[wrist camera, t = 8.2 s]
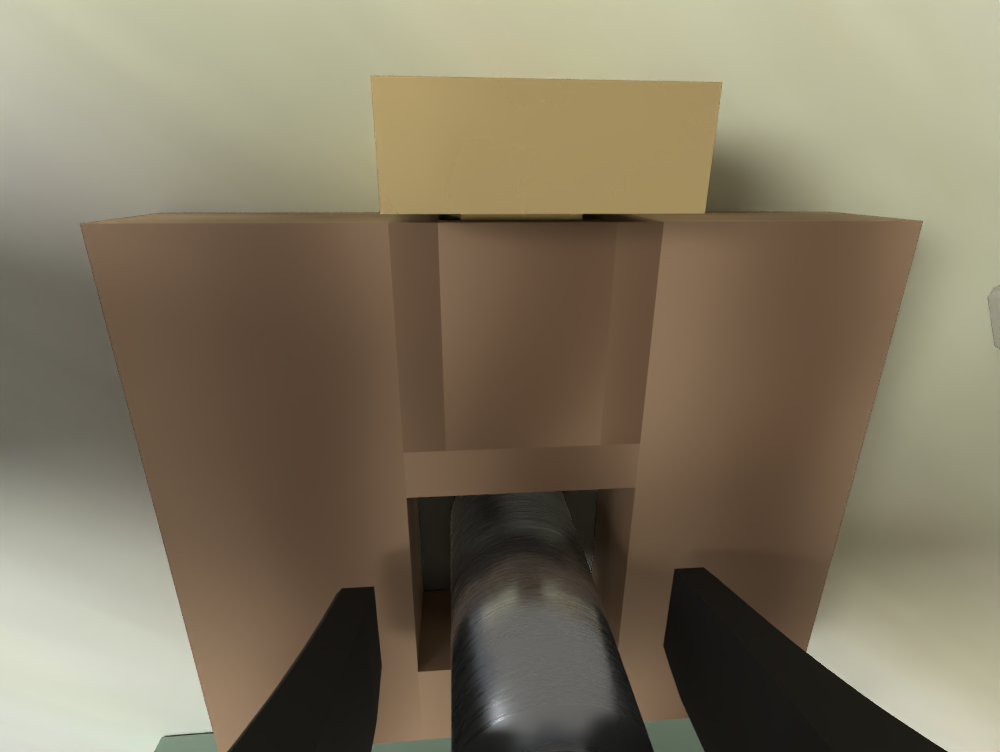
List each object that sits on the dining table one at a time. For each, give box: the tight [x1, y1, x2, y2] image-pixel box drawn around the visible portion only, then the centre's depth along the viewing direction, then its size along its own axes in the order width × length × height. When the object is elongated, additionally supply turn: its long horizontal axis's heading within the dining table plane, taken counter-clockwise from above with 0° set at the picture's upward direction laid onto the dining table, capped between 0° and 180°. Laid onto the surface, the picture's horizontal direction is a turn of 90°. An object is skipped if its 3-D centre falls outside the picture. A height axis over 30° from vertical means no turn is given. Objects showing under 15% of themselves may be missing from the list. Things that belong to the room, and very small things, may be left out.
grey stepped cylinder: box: [451, 491, 654, 752], centre depth 10 cm, size 3×3×9 cm
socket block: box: [80, 212, 923, 752], centre depth 12 cm, size 14×12×2 cm
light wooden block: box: [371, 76, 722, 220], centre depth 9 cm, size 4×6×4 cm
